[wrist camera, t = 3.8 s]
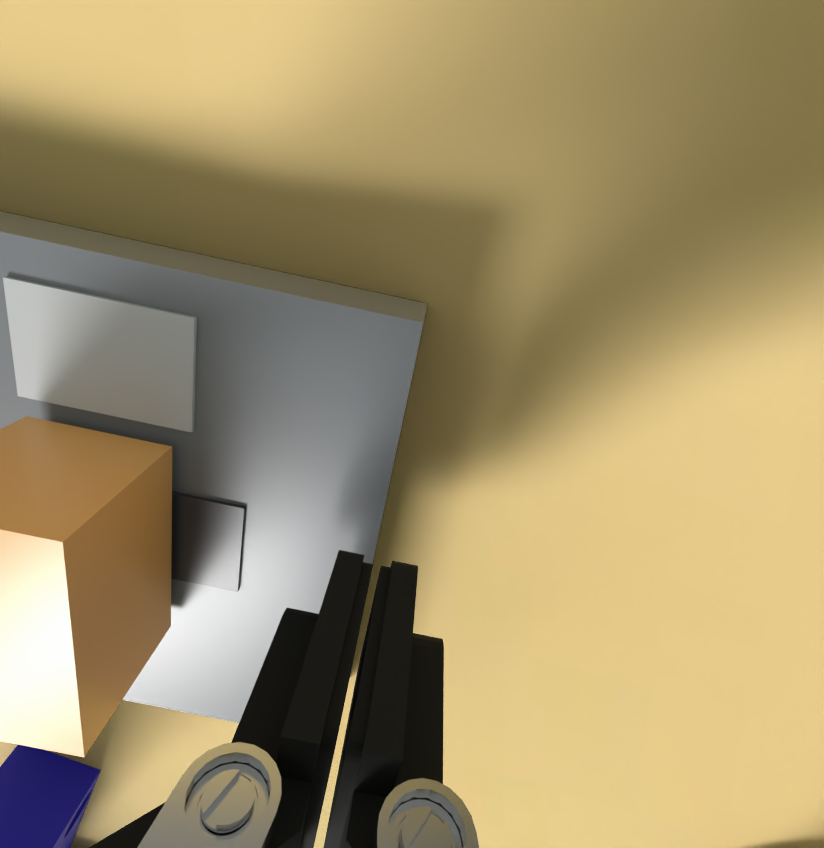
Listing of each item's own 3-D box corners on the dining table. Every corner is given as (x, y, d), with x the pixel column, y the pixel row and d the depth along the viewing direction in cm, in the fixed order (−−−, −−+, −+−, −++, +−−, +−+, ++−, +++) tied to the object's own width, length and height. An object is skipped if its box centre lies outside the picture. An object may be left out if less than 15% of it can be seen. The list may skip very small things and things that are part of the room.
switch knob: (172, 446, 10) (62, 542, 7) (170, 625, 12) (83, 757, 9) (26, 416, 10) (-142, 499, 7) (48, 601, 12) (-77, 725, 9)
